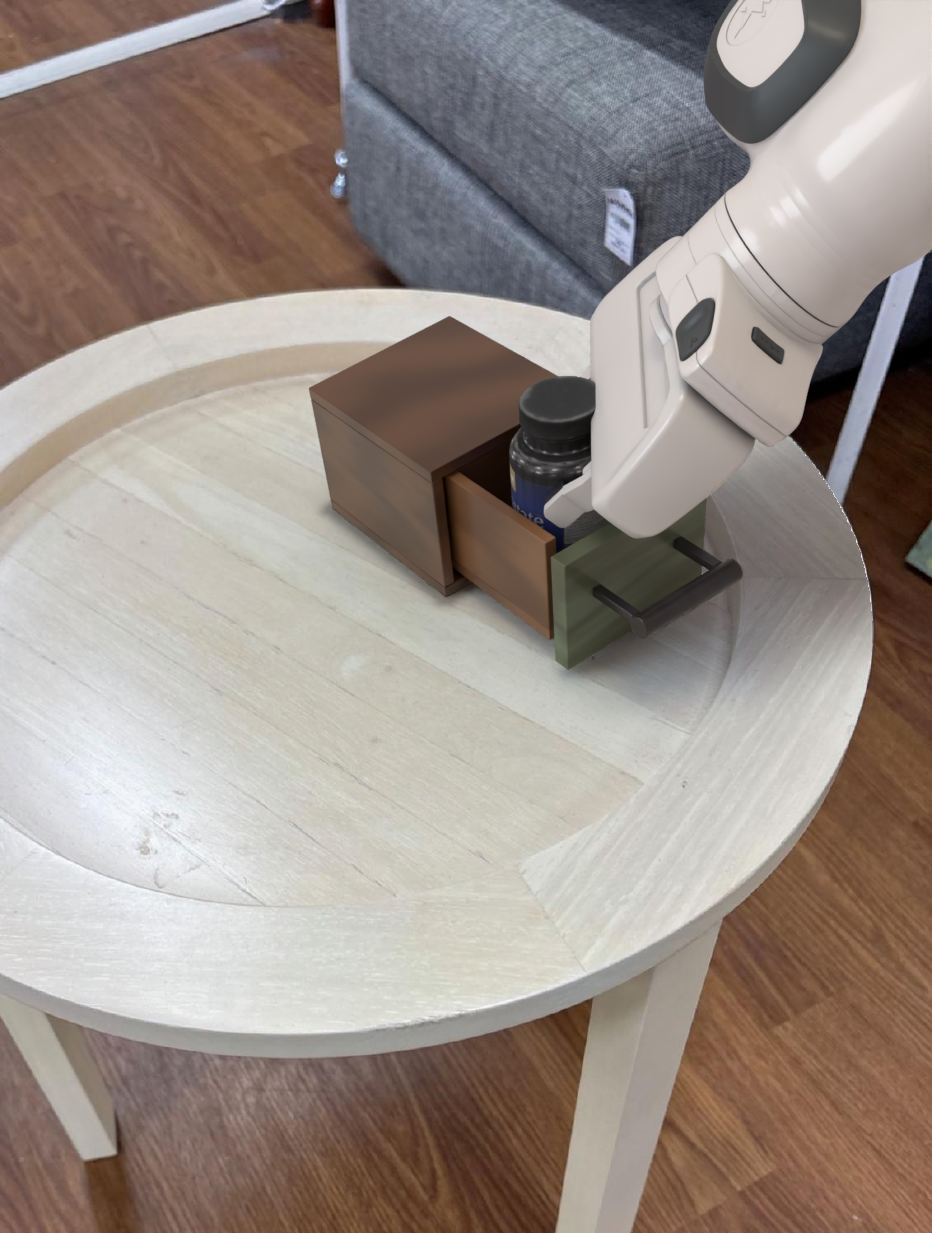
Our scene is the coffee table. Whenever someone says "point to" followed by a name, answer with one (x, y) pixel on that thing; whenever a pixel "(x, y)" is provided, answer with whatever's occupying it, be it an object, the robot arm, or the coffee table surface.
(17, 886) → the coffee table surface
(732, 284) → the robot arm
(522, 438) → the pill bottle
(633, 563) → the drawer
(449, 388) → the cabinet
